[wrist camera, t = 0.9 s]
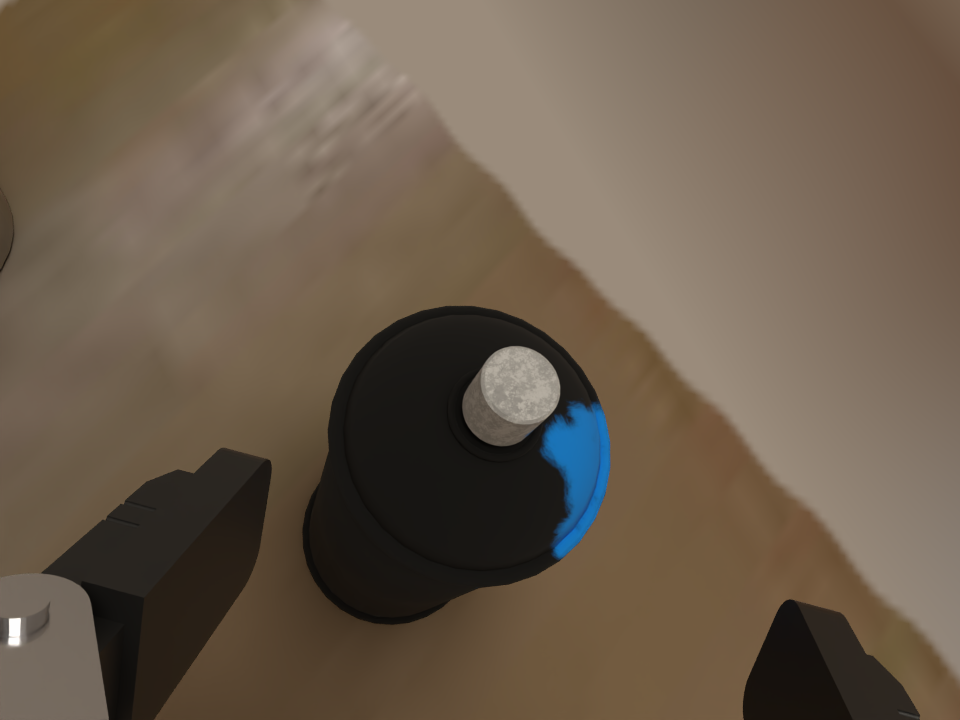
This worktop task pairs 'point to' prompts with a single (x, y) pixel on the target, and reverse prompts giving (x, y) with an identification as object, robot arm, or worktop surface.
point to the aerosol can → (453, 464)
